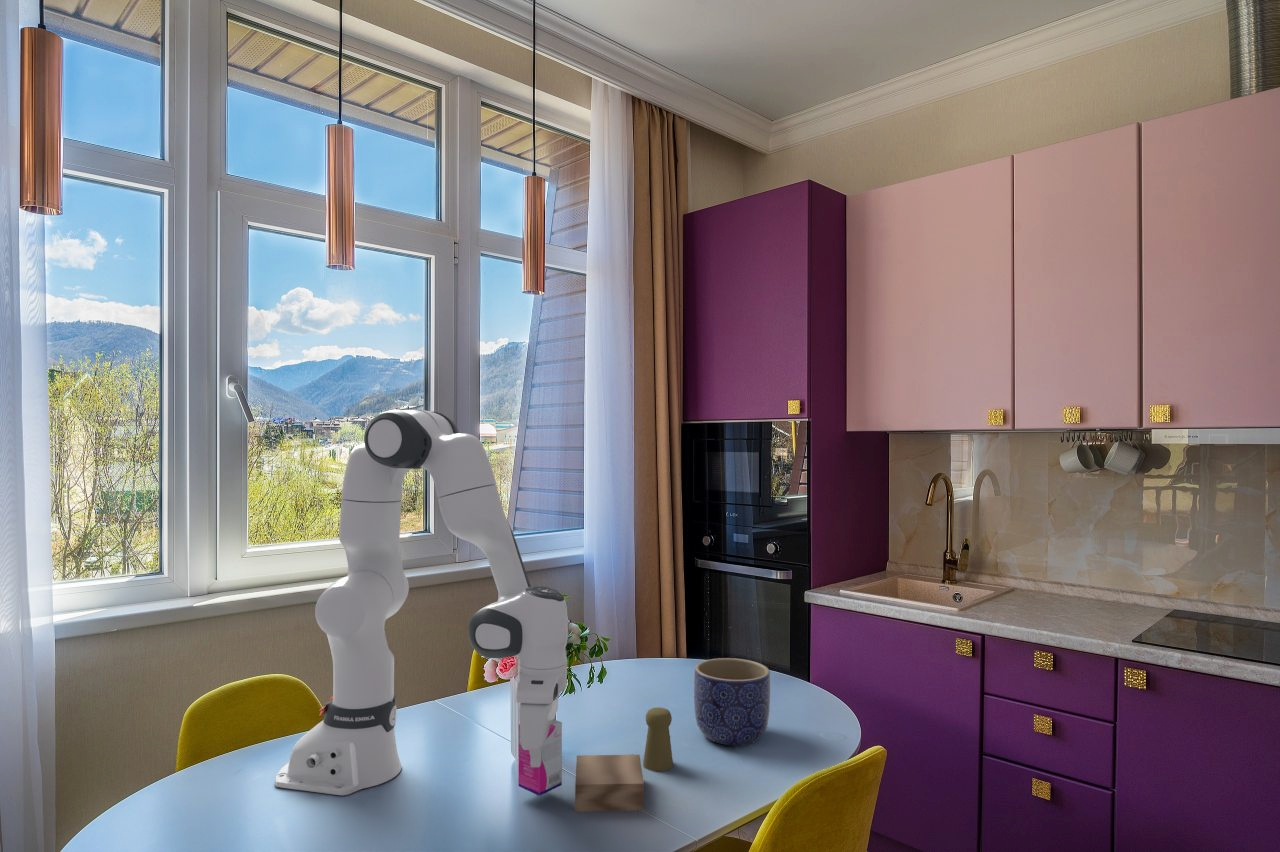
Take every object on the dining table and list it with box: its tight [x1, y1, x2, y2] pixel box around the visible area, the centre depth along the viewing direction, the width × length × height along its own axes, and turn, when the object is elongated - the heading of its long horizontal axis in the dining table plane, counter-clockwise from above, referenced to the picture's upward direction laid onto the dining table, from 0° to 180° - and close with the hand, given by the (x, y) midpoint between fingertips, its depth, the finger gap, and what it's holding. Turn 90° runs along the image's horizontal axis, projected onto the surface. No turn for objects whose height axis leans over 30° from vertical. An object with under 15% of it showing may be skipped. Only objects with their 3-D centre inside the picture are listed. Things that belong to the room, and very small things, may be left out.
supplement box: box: [517, 719, 563, 797], centre depth 137 cm, size 6×6×12 cm
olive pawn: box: [642, 707, 674, 772], centre depth 152 cm, size 6×6×11 cm
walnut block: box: [574, 754, 645, 812], centre depth 139 cm, size 12×12×5 cm
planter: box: [693, 657, 771, 747], centre depth 166 cm, size 17×17×15 cm
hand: (540, 754), depth 137 cm, fingers closed on supplement box, 8 cm apart
